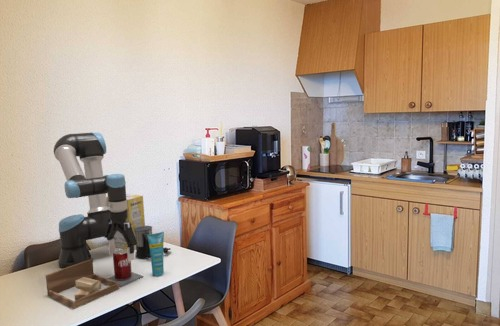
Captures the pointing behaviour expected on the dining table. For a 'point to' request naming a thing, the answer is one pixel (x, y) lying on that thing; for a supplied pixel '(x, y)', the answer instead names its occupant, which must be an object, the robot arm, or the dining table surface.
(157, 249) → the tube
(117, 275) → the soda can
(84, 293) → the bottom offcut
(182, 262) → the dining table surface
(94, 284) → the top offcut
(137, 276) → the plate
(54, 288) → the wooden tray frame
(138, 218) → the pasta box
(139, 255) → the milk frother
